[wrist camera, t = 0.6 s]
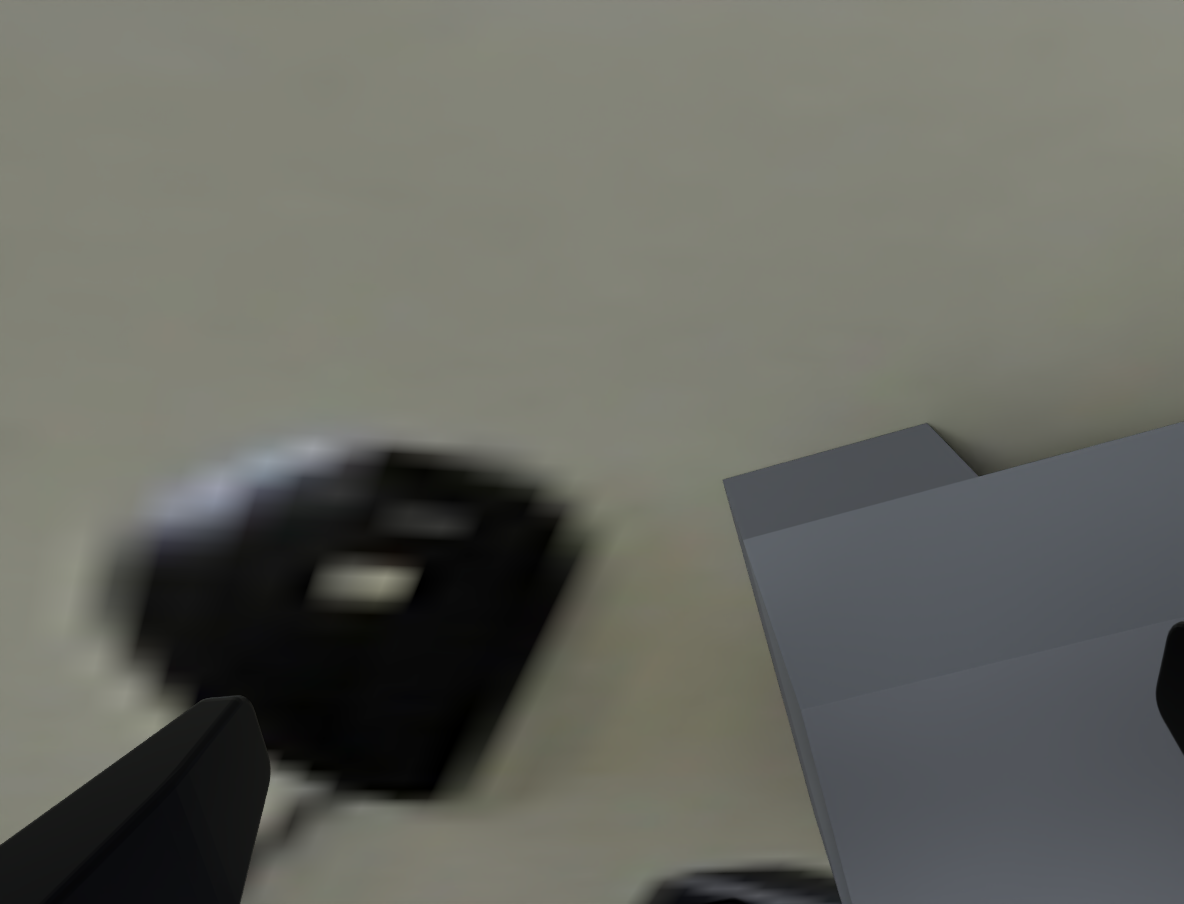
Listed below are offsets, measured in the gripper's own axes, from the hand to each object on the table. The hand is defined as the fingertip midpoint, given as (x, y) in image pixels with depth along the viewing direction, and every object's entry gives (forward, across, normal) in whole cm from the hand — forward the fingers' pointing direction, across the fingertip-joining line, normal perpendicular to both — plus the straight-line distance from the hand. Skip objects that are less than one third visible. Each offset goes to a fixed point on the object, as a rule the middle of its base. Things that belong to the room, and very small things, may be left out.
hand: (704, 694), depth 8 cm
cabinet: (+14, -9, +10) cm, 19 cm away
